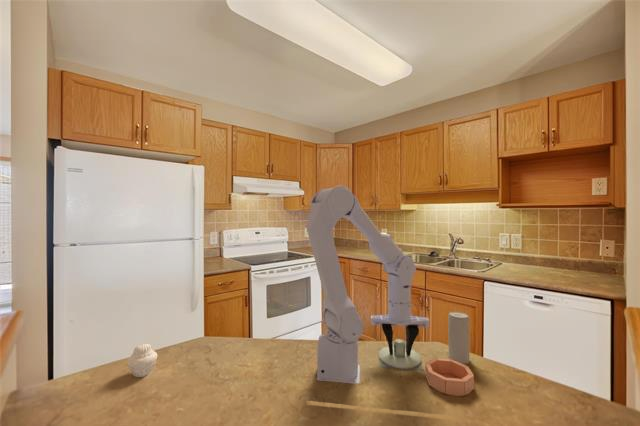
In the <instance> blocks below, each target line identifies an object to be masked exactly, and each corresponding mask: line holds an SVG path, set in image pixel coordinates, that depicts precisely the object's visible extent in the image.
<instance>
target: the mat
mask: <svg viewBox="0 0 640 426" xmlns="http://www.w3.org/2000/svg"><path fill="white" fill-rule="evenodd" d="M382 348H383V347H379V348H378V351H380V350H381V349H382ZM415 351H416V352H417V353H418V351H417V350H415ZM379 363H380V367H381V368H389V369H395V368H394V367H391V366H388V365H386V364H385V363H383V362H382V361H381V360H380V359H379ZM410 370H413V371H414V370H416V371H424V368H423V365H422V362H421V363H420V365H419V366H417V367H415V368H411V369H410Z"/></svg>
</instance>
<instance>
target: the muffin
mask: <svg viewBox="0 0 640 426" xmlns="http://www.w3.org/2000/svg"><path fill="white" fill-rule="evenodd" d="M157 358H158V352H156V351H155V350H154V349H152V345H150V344H149V343H142V344H139V345H136V346H135V348H134V349H133V352H132V354H131V355H130V356H129V357H128V359H127V360H126V364H127V367H128V369H129V370H130V372H131V374H133V376H134V377H135V378H142V377H146V376H148V375H149V374H150V373H151V371H152V370H153V368H154V366H155V364H156V362H157Z"/></svg>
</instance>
